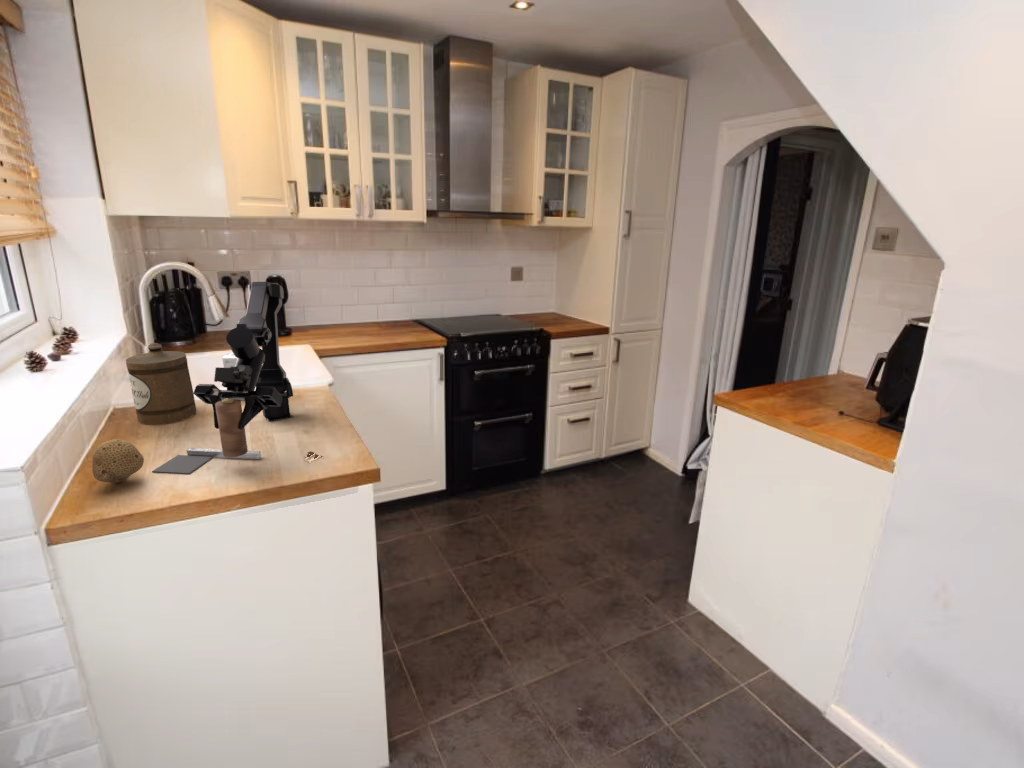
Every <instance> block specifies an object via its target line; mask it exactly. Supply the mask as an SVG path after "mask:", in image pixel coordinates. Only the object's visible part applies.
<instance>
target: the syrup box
mask: <svg viewBox="0 0 1024 768" xmlns="http://www.w3.org/2000/svg"><path fill="white" fill-rule="evenodd" d="M236 360H237V357H235V355H234V354H233V353H228V354H227V353H226V354H225V355H224V356H222V365H223V368H230V367H234V366H235V363H236ZM239 400H240V401H245V399H239Z"/></svg>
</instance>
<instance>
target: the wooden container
mask: <svg viewBox="0 0 1024 768" xmlns="http://www.w3.org/2000/svg"><path fill="white" fill-rule="evenodd" d="M147 348H148V350H149V351H148V352H145V353H140V354H136V355H133V356H130V357H127V358H126V359H125V364H126V369H127V372H128V377H129V383H130V388H131V394H132V399H133V403H134V408H135V413H136V418H137V421H138V423H140V424H143V425H150V426H151V425H153V426H155V425H156V426H157V425H168V424H174V423H178V422H182V421H185V420H187V419H191V417H193V416H194V415H196V413H197V408H196V407H197V405H196V401H195V395H194V394H193V393H194V389H193V384H192V383H193V382H192V379H191V375H190V374H191V373H190V369H189V365H188V358H187V355H186V353H185V352H183V351H178V350H177V351H175V350H172V351H171V350H169V351H167V350H166V351H163V350H162V348H163V347H162V344H161V343H157V342H152V343H150V344H149V345H148V346H147Z"/></svg>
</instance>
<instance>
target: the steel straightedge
mask: <svg viewBox="0 0 1024 768" xmlns="http://www.w3.org/2000/svg"><path fill="white" fill-rule="evenodd" d="M186 453H187V454H186V455H190V456H211V457H213V458H221V459H222V458H223V459H239V460H240V459H241V460H242V459H243V460H259V459H260V458H261V457H262V453H261V450H259V451H257V450H248V452H247V453H246V454H244V455H241V456H237V457H225V456H223V451H222V448H220V449H219V448H203V447H201V448H200V447H199V448H198V447H190V448H188V449H187V450H186Z"/></svg>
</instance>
